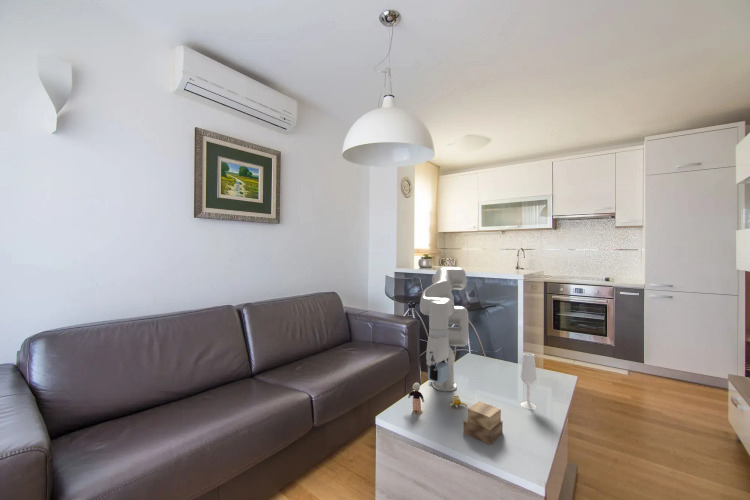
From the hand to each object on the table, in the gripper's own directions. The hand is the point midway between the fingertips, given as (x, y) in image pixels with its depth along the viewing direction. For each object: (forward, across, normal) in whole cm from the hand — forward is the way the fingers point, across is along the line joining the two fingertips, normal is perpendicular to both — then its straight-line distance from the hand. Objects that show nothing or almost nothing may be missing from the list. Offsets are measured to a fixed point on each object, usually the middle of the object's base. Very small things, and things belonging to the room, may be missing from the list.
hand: (438, 376), depth 127 cm
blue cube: (+1, 0, 0) cm, 1 cm away
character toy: (+22, -22, -5) cm, 32 cm away
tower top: (+17, -10, +14) cm, 24 cm away
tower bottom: (+22, -10, +14) cm, 28 cm away
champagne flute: (+22, -46, +19) cm, 55 cm away
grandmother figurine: (+21, -5, -15) cm, 27 cm away
